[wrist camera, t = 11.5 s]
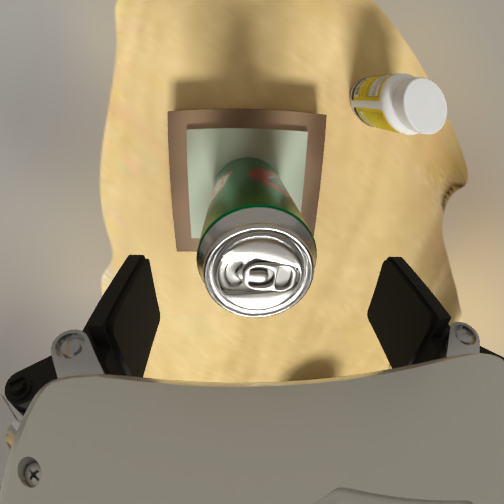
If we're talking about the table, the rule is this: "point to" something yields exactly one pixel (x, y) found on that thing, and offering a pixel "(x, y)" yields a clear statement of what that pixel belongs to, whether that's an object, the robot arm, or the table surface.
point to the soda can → (254, 242)
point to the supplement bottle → (399, 104)
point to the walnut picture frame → (239, 146)
